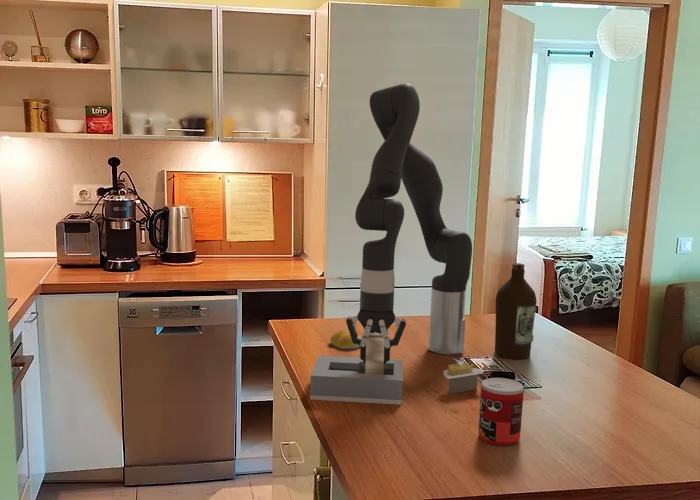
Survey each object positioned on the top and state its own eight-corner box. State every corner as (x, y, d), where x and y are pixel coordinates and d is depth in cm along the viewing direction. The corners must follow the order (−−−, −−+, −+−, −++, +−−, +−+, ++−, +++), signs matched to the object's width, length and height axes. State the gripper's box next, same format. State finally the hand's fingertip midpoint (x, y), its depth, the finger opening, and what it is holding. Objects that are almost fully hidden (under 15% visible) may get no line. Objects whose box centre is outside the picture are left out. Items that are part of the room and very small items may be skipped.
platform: (413, 388, 158) (414, 361, 157) (476, 378, 166) (478, 352, 165) (442, 407, 148) (443, 378, 147) (507, 395, 156) (509, 368, 154)
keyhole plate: (401, 382, 161) (402, 359, 160) (401, 404, 147) (402, 380, 146) (318, 377, 162) (318, 355, 161) (310, 399, 149) (310, 375, 148)
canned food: (473, 429, 135) (476, 377, 134) (512, 429, 136) (516, 377, 134) (484, 447, 128) (487, 391, 126) (525, 446, 129) (529, 391, 127)
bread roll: (346, 352, 183) (346, 338, 182) (325, 344, 189) (325, 330, 189) (369, 346, 188) (369, 332, 187) (348, 339, 195) (348, 325, 194)
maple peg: (387, 382, 157) (389, 332, 155) (386, 391, 151) (388, 339, 149) (361, 380, 157) (363, 330, 155) (360, 390, 152) (361, 338, 150)
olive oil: (484, 351, 186) (489, 262, 182) (511, 346, 192) (517, 259, 188) (513, 363, 177) (519, 269, 173) (540, 356, 183) (547, 266, 179)
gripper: (409, 285, 154) (406, 358, 157) (346, 283, 155) (344, 355, 158) (409, 293, 146) (406, 369, 149) (344, 290, 147) (342, 366, 150)
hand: (374, 361), depth 153 cm, fingers closed on maple peg, 4 cm apart
